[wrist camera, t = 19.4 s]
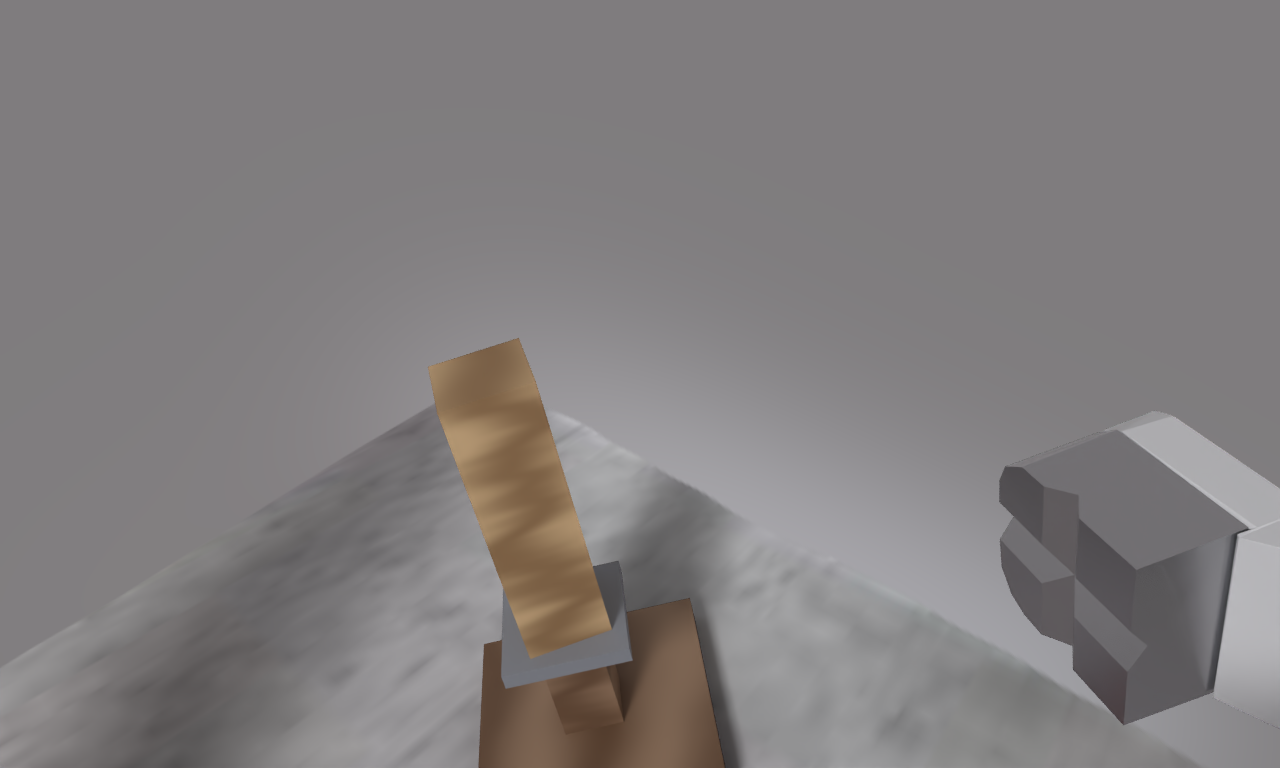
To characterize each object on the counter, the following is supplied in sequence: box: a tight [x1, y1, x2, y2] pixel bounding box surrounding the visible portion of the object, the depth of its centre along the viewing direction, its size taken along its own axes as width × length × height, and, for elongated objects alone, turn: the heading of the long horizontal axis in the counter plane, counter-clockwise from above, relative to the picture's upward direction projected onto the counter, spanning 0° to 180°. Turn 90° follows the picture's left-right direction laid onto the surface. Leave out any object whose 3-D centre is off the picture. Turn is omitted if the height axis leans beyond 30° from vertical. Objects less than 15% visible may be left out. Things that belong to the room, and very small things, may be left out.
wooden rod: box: [428, 338, 612, 659], centre depth 44 cm, size 4×4×14 cm
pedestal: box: [479, 561, 725, 768], centre depth 50 cm, size 12×12×8 cm
